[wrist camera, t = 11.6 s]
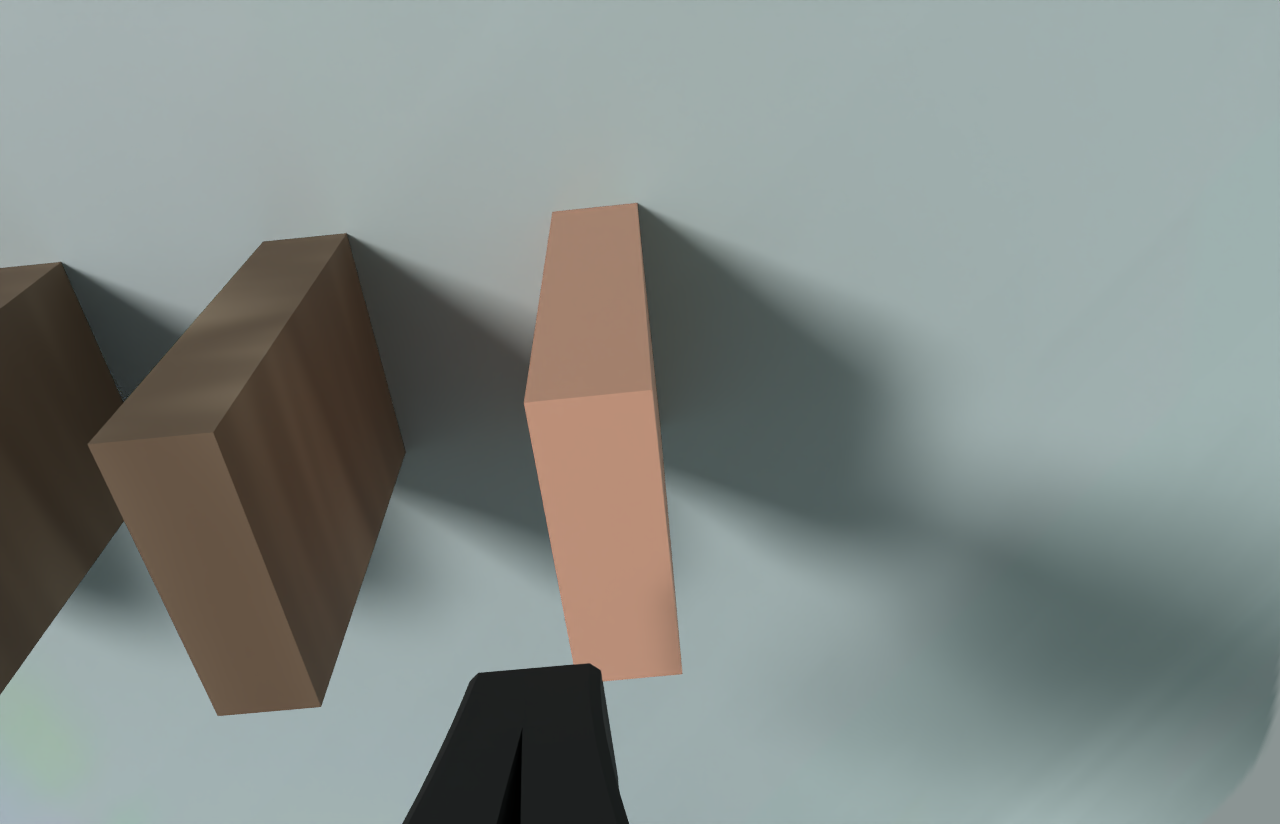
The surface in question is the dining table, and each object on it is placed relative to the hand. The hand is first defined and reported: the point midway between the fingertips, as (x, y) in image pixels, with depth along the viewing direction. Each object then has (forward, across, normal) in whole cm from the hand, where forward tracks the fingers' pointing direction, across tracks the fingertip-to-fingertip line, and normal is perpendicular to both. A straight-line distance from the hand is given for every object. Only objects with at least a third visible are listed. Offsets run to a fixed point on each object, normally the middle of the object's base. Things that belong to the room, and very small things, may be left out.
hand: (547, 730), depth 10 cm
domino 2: (+10, +5, 0) cm, 11 cm away
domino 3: (+10, -1, 0) cm, 10 cm away
